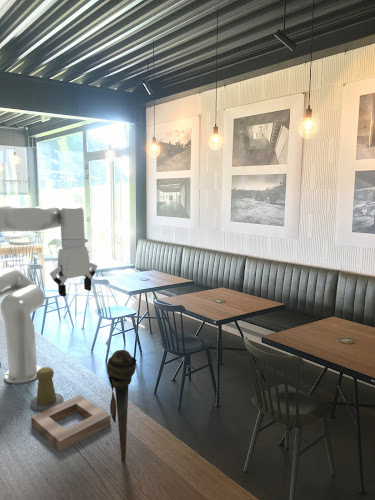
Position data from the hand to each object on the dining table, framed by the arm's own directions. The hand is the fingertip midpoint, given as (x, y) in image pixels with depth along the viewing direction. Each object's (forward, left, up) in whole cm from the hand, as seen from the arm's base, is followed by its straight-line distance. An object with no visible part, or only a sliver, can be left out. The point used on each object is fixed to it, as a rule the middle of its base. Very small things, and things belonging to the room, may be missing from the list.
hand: (75, 292), depth 134 cm
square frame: (+21, -16, -32) cm, 42 cm away
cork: (+5, -15, -32) cm, 36 cm away
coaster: (+5, -15, -32) cm, 36 cm away
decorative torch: (+44, -15, -32) cm, 57 cm away
